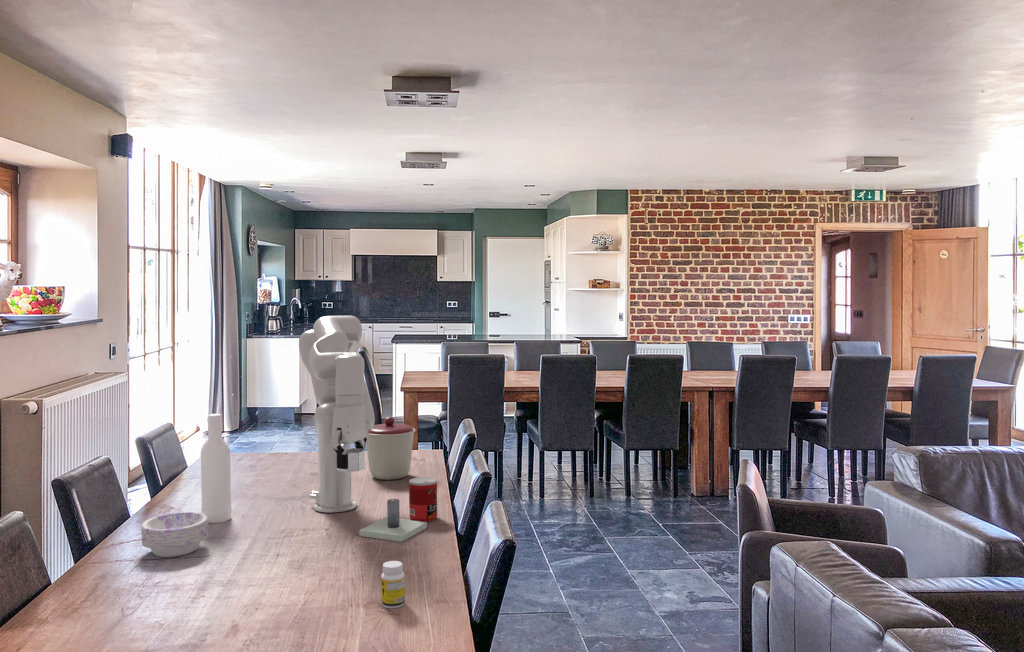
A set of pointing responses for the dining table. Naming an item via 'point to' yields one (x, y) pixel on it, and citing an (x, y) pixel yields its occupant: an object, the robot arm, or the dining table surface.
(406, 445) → the canister
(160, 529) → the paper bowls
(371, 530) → the green board
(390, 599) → the supplement bottle
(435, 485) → the canned food
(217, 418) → the bottle
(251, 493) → the dining table surface
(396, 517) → the steel post
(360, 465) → the metal ring
